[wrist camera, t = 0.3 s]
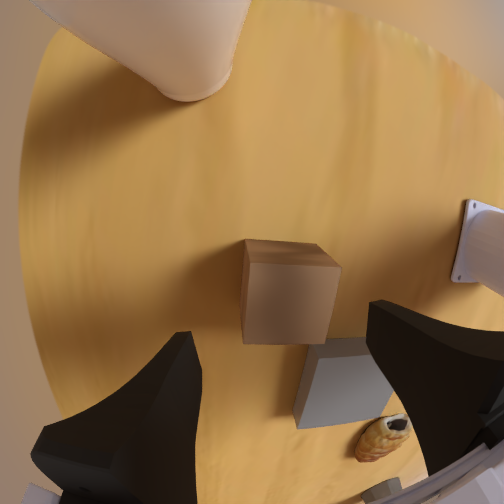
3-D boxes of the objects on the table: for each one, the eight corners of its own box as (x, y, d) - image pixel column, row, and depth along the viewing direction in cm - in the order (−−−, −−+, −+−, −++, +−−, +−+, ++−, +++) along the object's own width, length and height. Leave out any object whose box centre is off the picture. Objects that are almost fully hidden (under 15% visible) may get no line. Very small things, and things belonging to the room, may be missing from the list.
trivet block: (396, 332, 23) (412, 349, 20) (369, 398, 26) (379, 417, 23) (309, 336, 22) (319, 358, 19) (291, 407, 25) (297, 429, 22)
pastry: (379, 450, 30) (388, 468, 26) (341, 456, 29) (348, 476, 25) (411, 408, 27) (423, 427, 24) (371, 414, 27) (383, 437, 23)
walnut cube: (315, 243, 20) (341, 267, 15) (305, 306, 21) (324, 343, 16) (244, 238, 19) (250, 262, 14) (239, 304, 20) (243, 343, 16)
